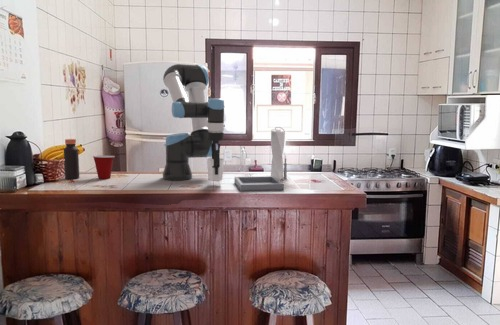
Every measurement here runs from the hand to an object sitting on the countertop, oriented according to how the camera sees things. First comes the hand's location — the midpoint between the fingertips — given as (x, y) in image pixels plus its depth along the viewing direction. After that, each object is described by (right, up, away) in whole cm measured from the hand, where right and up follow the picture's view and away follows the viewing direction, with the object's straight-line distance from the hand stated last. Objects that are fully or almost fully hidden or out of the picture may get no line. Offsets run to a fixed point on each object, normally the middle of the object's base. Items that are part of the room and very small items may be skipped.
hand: (215, 179), depth 197 cm
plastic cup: (-58, 0, +15) cm, 60 cm away
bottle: (-74, 0, +13) cm, 75 cm away
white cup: (0, -1, 0) cm, 0 cm away
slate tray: (+21, -4, 0) cm, 21 cm away
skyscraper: (+31, -1, +20) cm, 37 cm away
